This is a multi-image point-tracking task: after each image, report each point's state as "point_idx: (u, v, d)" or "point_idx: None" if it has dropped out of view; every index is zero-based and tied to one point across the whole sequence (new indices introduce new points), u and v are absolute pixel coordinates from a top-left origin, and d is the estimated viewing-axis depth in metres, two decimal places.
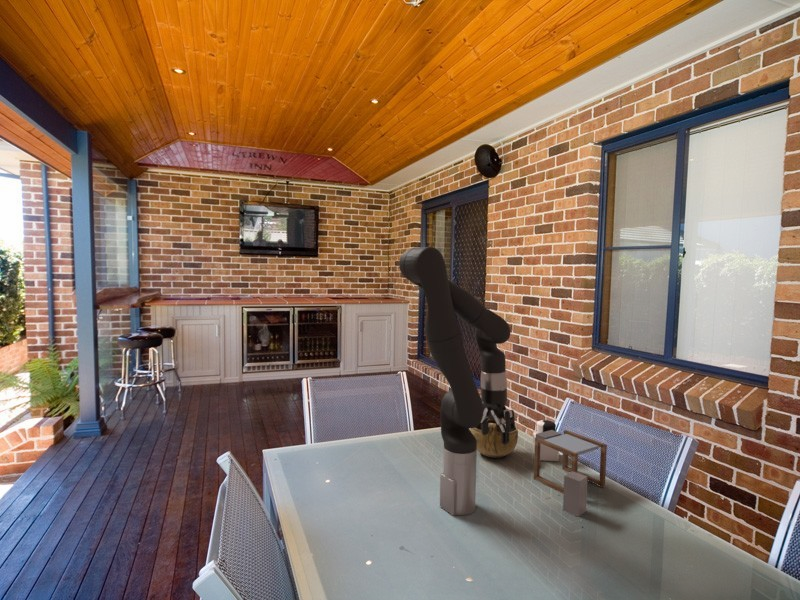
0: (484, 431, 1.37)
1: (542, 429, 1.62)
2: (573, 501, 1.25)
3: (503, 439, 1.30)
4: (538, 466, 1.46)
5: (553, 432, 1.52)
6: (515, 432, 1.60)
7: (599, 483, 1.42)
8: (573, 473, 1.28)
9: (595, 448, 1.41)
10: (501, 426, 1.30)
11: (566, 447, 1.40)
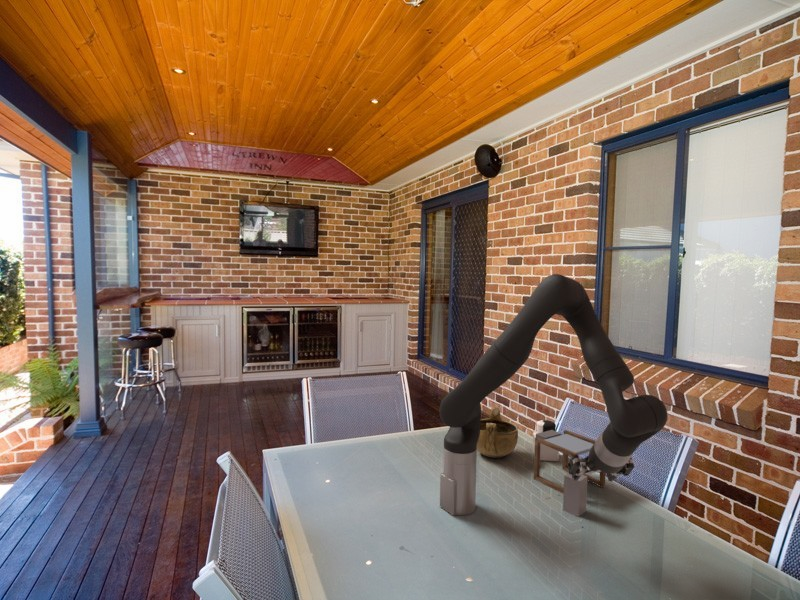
0: (608, 473, 1.14)
1: (542, 429, 1.62)
2: (573, 501, 1.25)
3: None
4: (538, 466, 1.46)
5: (553, 432, 1.52)
6: (515, 432, 1.60)
7: (599, 483, 1.42)
8: None
9: None
10: None
11: (566, 447, 1.40)
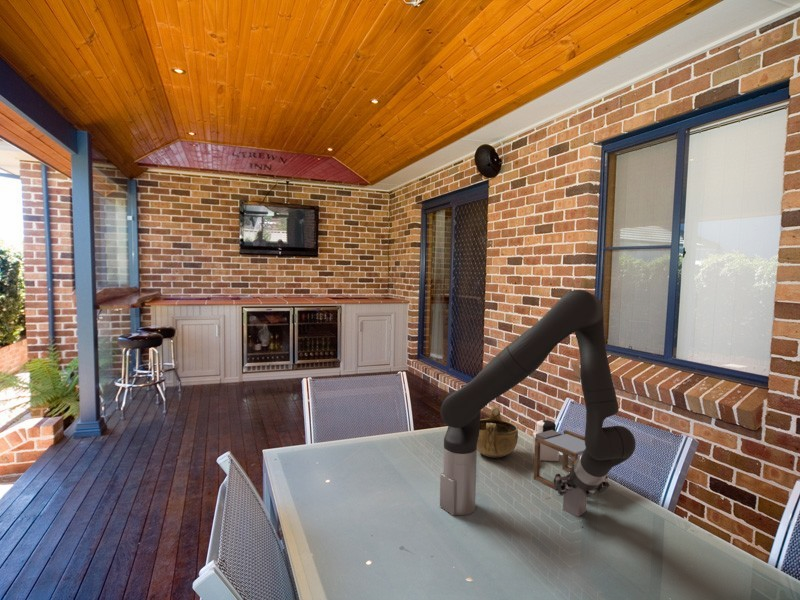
0: None
1: (542, 429, 1.62)
2: (573, 501, 1.25)
3: None
4: (538, 466, 1.46)
5: (553, 432, 1.52)
6: (515, 432, 1.60)
7: None
8: None
9: None
10: None
11: (566, 447, 1.40)
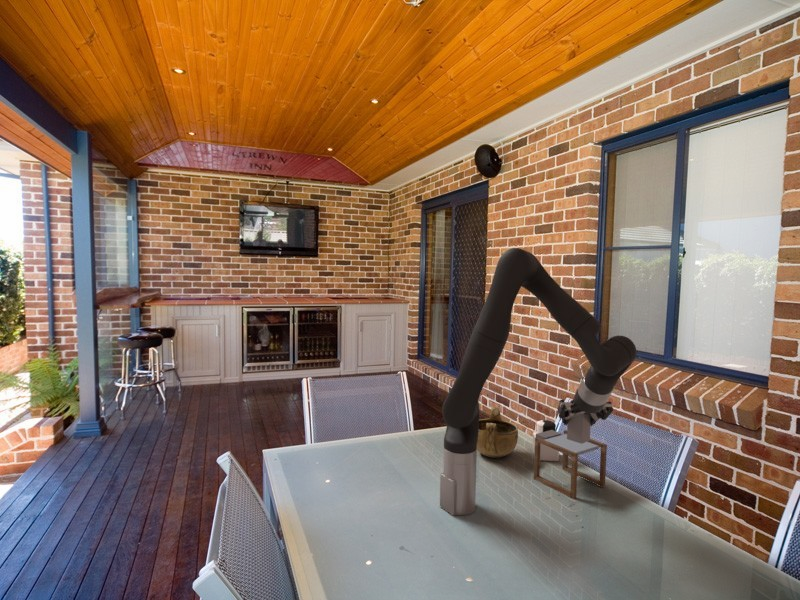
0: None
1: (542, 429, 1.62)
2: (577, 429, 1.26)
3: None
4: (538, 466, 1.46)
5: (553, 432, 1.52)
6: (515, 432, 1.60)
7: (599, 483, 1.42)
8: None
9: (595, 448, 1.41)
10: None
11: (566, 447, 1.40)
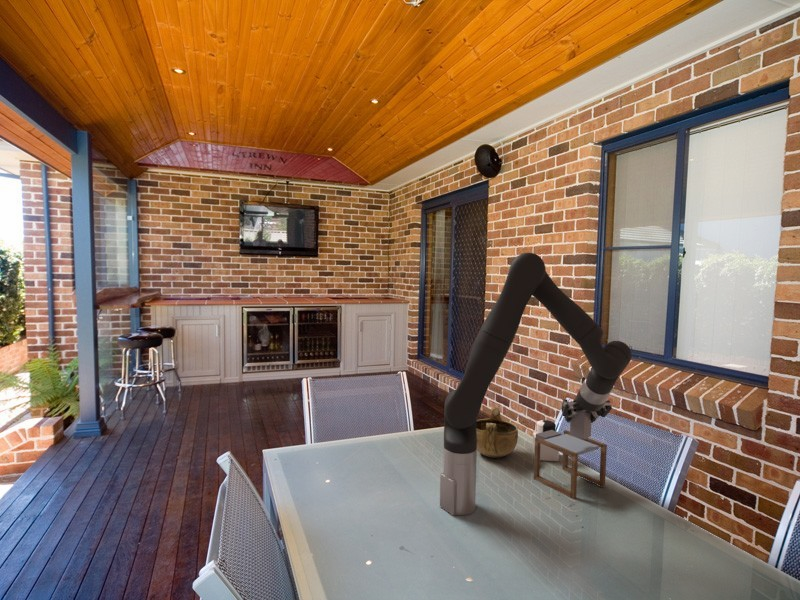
0: None
1: (542, 429, 1.62)
2: (579, 426, 1.38)
3: None
4: (538, 466, 1.46)
5: (553, 432, 1.52)
6: (515, 432, 1.60)
7: (599, 483, 1.42)
8: None
9: (595, 448, 1.41)
10: None
11: (566, 447, 1.40)
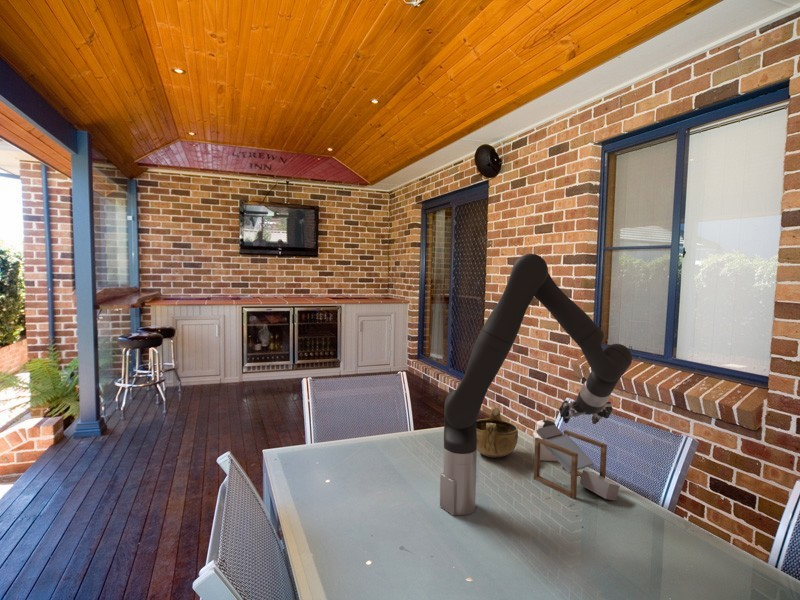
0: (592, 418, 1.41)
1: None
2: (589, 483, 1.37)
3: None
4: (538, 466, 1.46)
5: (555, 429, 1.51)
6: (515, 432, 1.60)
7: None
8: (616, 488, 1.33)
9: (590, 465, 1.42)
10: None
11: (563, 459, 1.40)
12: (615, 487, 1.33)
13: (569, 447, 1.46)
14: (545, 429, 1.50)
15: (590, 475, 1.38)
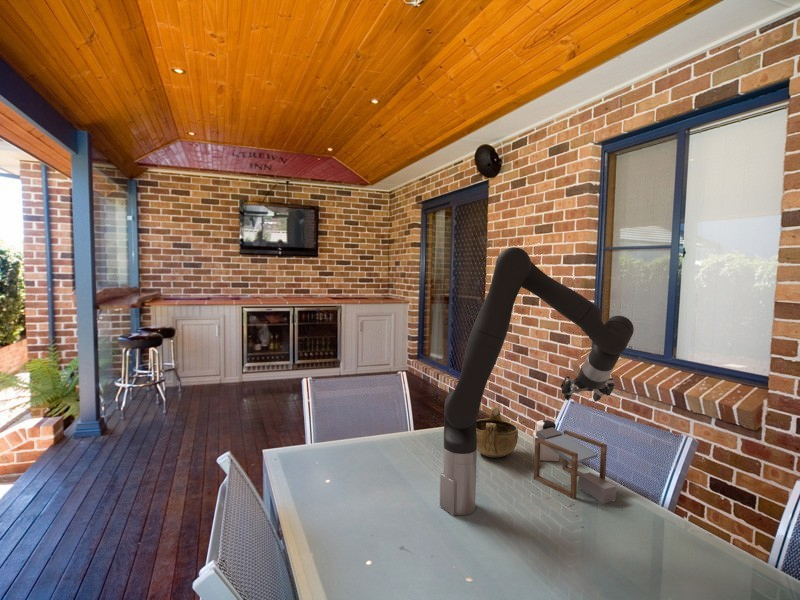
0: (594, 395, 1.40)
1: (542, 429, 1.62)
2: (587, 488, 1.37)
3: None
4: (538, 466, 1.46)
5: (554, 430, 1.52)
6: (515, 432, 1.60)
7: None
8: (613, 490, 1.33)
9: (594, 456, 1.41)
10: None
11: None
12: (611, 489, 1.32)
13: (570, 443, 1.45)
14: (544, 431, 1.50)
15: (586, 480, 1.38)
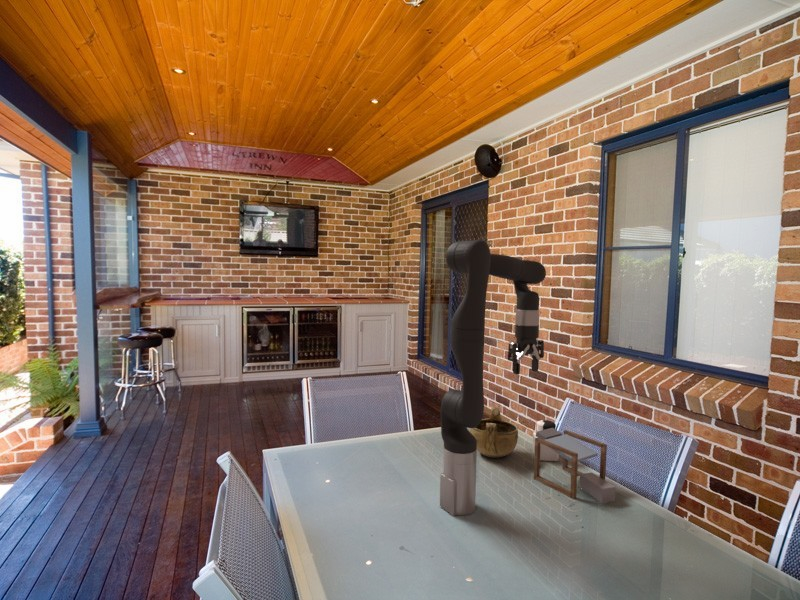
0: (532, 367, 1.51)
1: (542, 429, 1.62)
2: (587, 488, 1.38)
3: None
4: (538, 466, 1.46)
5: (554, 430, 1.52)
6: (515, 432, 1.60)
7: None
8: (611, 490, 1.32)
9: (594, 455, 1.41)
10: None
11: None
12: (610, 490, 1.32)
13: (570, 443, 1.45)
14: (543, 431, 1.50)
15: (586, 479, 1.38)
